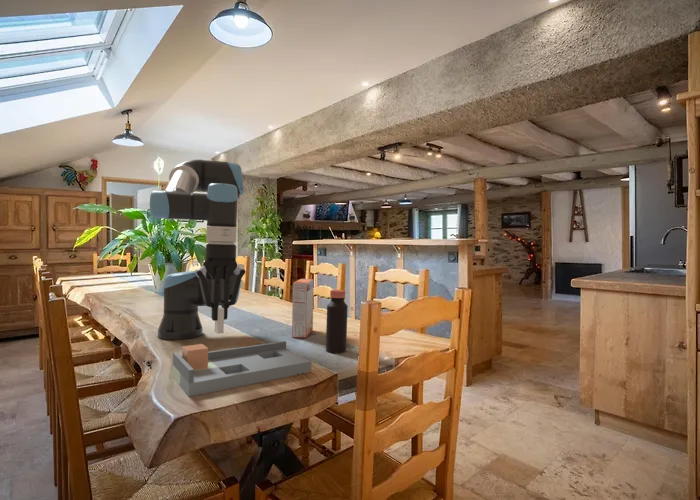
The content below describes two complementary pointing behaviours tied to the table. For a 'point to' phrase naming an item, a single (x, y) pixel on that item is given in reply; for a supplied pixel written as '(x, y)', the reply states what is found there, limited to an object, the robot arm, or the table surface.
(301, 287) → the cracker box
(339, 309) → the bottle
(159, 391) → the table surface
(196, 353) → the terracotta block
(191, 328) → the robot arm
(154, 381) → the table surface
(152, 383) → the table surface
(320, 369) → the table surface
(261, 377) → the board
